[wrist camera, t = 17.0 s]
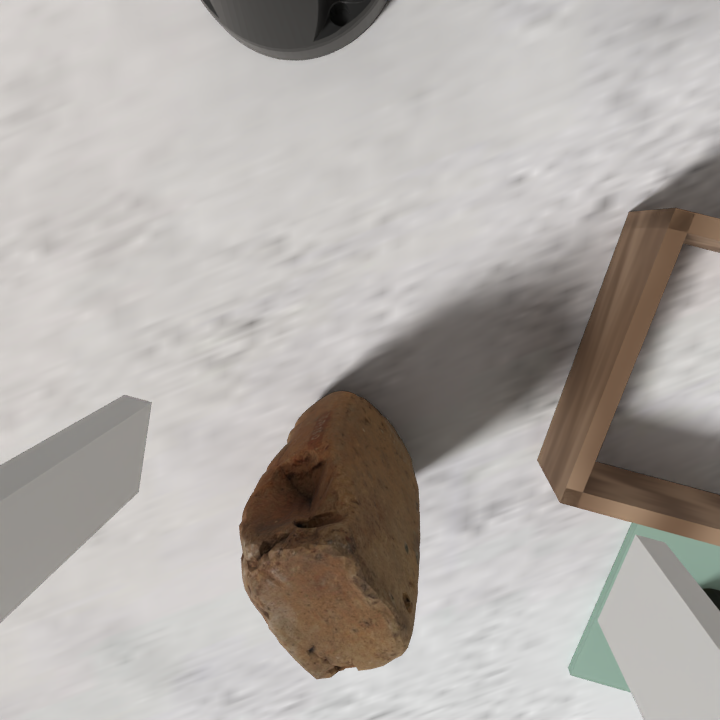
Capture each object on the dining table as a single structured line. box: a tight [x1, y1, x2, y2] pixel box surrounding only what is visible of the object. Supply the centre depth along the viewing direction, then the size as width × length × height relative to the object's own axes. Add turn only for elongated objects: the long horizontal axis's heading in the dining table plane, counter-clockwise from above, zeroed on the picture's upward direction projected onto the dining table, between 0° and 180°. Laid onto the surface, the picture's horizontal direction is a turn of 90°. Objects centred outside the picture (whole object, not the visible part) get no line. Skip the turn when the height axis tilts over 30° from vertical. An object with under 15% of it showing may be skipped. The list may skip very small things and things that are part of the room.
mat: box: [568, 523, 720, 692], centre depth 45 cm, size 16×16×1 cm
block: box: [239, 391, 420, 679], centre depth 35 cm, size 11×8×20 cm
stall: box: [537, 208, 720, 546], centre depth 37 cm, size 16×20×7 cm
